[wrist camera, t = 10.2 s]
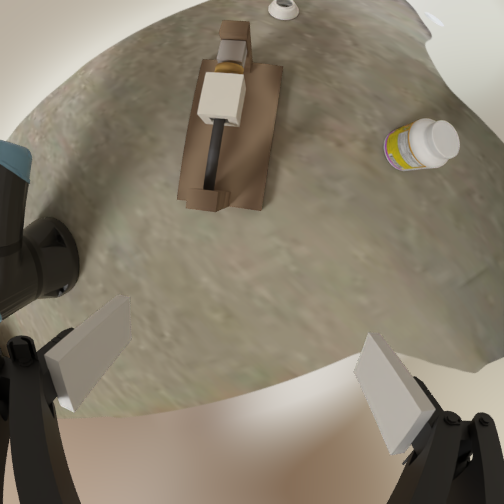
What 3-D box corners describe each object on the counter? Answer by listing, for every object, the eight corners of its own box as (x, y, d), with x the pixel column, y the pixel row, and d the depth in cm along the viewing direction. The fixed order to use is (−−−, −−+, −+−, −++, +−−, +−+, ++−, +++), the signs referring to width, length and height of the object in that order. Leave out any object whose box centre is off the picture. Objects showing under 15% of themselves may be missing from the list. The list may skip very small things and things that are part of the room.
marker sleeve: (205, 123, 29) (197, 113, 25) (212, 86, 28) (205, 72, 24) (239, 127, 29) (235, 117, 25) (246, 89, 28) (243, 74, 24)
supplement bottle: (415, 133, 35) (462, 119, 22) (417, 173, 36) (467, 170, 24) (380, 127, 35) (423, 106, 23) (382, 168, 37) (428, 162, 24)
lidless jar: (263, 16, 32) (292, 24, 32) (264, 6, 29) (294, 15, 29) (274, -1, 31) (302, 7, 31) (275, -11, 28) (304, -2, 28)
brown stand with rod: (179, 199, 39) (144, 203, 26) (204, 63, 34) (184, 20, 21) (261, 210, 39) (261, 218, 26) (282, 70, 34) (290, 26, 21)
